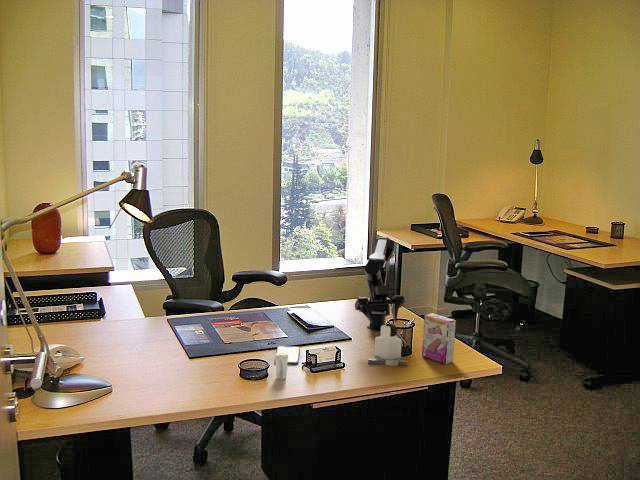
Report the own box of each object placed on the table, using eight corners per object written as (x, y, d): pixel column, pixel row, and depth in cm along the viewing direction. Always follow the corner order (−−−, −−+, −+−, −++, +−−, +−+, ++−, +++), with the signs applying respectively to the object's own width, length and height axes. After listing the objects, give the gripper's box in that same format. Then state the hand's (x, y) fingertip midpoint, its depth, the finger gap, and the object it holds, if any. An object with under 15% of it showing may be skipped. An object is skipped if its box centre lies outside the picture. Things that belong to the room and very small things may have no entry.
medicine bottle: (388, 351, 268) (389, 321, 266) (401, 357, 263) (402, 326, 260) (374, 355, 264) (375, 324, 261) (386, 361, 258) (388, 329, 256)
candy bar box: (421, 356, 265) (423, 315, 261) (429, 353, 268) (431, 312, 265) (445, 365, 257) (448, 322, 253) (453, 362, 260) (456, 319, 257)
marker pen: (368, 362, 258) (368, 357, 257) (406, 364, 256) (407, 359, 256) (368, 363, 256) (368, 359, 255) (407, 366, 255) (407, 361, 254)
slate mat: (374, 351, 268) (375, 351, 268) (400, 353, 267) (400, 352, 267) (374, 361, 259) (374, 360, 259) (400, 362, 258) (400, 361, 258)
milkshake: (272, 375, 243) (272, 347, 241) (287, 375, 243) (288, 347, 241) (272, 380, 238) (272, 352, 236) (288, 380, 239) (288, 352, 237)
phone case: (298, 366, 253) (300, 350, 269) (298, 362, 253) (300, 346, 268) (273, 366, 253) (276, 349, 269) (274, 361, 253) (276, 345, 268)
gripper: (358, 277, 265) (366, 314, 257) (404, 275, 270) (414, 311, 262) (351, 291, 274) (358, 327, 266) (396, 289, 279) (405, 324, 271)
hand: (384, 322), depth 266 cm, fingers open, 9 cm apart
